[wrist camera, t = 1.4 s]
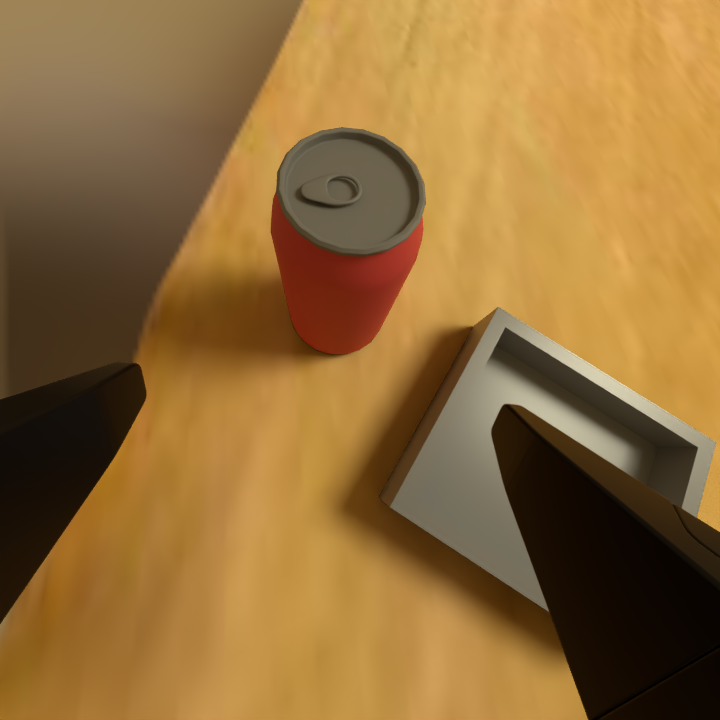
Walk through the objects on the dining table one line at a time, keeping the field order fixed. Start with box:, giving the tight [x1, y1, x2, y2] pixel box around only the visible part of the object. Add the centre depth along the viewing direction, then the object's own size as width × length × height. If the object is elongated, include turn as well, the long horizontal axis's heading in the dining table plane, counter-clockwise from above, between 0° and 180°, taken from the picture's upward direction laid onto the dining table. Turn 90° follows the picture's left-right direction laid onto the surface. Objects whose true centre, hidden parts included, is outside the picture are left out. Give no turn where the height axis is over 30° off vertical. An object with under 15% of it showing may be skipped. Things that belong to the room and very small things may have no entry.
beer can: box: [271, 127, 426, 354], centre depth 18 cm, size 7×7×12 cm
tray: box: [379, 307, 716, 612], centre depth 21 cm, size 14×16×4 cm
